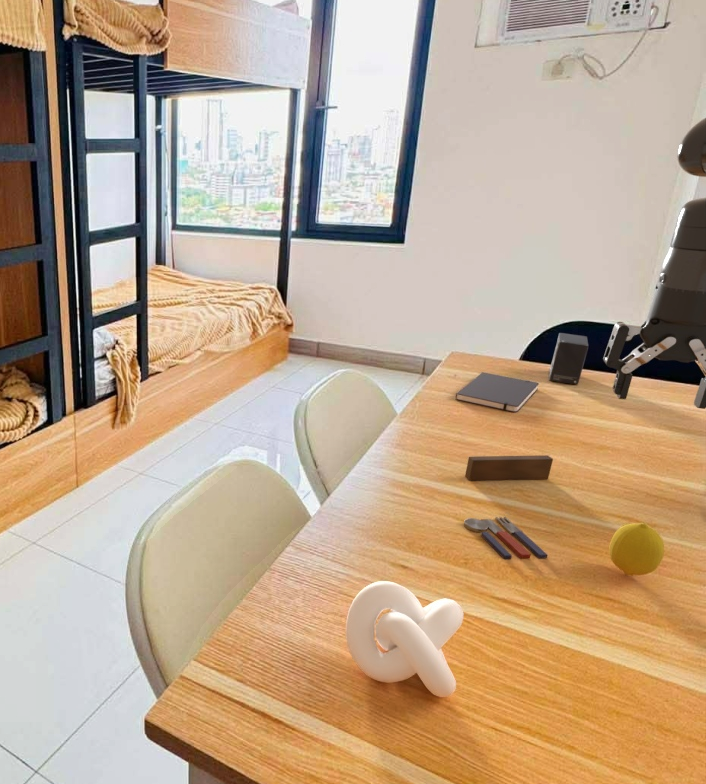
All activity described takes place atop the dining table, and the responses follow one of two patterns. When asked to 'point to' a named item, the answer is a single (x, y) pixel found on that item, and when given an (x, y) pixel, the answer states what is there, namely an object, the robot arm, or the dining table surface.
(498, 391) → the notebook
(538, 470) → the back rail
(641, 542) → the lemon
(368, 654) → the white knot sculpture
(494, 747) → the dining table surface
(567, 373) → the small box
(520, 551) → the cutlery
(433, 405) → the dining table surface
